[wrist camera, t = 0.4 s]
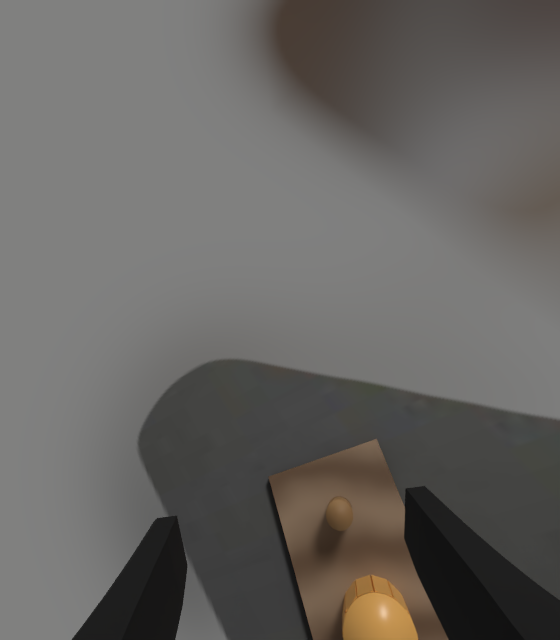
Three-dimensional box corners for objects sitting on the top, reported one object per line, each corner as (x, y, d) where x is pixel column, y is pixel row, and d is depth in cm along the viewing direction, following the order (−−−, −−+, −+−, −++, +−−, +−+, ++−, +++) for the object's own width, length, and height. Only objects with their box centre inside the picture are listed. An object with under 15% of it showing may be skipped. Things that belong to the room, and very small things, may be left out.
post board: (462, 650, 30) (481, 681, 25) (330, 692, 30) (327, 730, 26) (375, 439, 37) (379, 437, 33) (270, 476, 37) (261, 478, 33)
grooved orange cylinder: (419, 643, 29) (432, 673, 25) (357, 663, 30) (359, 696, 26) (391, 567, 32) (398, 583, 28) (334, 586, 32) (332, 605, 28)
